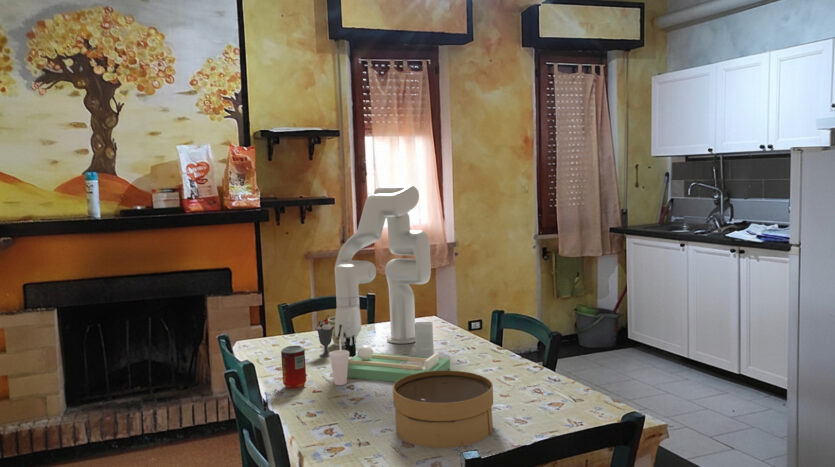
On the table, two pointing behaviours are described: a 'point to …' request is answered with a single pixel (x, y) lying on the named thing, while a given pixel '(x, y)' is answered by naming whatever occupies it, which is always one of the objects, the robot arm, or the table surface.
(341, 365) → the smoothie
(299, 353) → the soda can
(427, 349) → the skincare box
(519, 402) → the table surface
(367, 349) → the ball
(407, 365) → the green
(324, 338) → the sundae
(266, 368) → the table surface
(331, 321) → the ceramic cup
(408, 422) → the steamer basket
